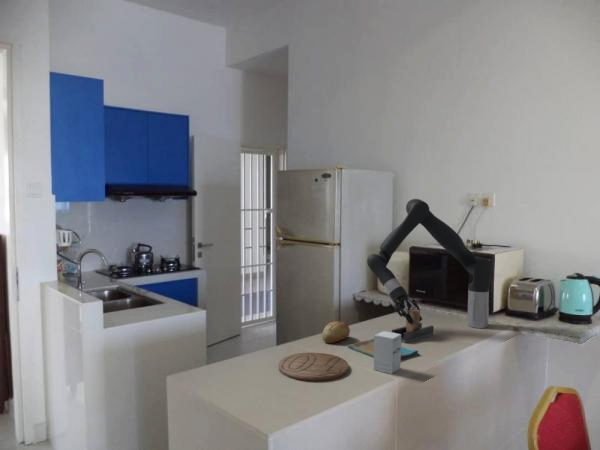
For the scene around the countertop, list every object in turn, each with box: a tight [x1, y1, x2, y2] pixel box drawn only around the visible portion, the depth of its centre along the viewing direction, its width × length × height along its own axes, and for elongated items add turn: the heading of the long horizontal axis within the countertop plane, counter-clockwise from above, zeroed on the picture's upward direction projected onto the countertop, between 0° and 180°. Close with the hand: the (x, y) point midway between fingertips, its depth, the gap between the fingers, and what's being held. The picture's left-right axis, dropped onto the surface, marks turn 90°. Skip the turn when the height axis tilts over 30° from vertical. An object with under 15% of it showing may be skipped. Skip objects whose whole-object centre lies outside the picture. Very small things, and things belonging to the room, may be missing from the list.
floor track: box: [391, 322, 435, 344], centre depth 207 cm, size 20×8×4 cm, turn 129°
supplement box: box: [373, 330, 402, 375], centre depth 167 cm, size 7×7×13 cm
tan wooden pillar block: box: [405, 308, 421, 332], centre depth 207 cm, size 5×4×11 cm
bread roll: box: [321, 321, 351, 344], centre depth 201 cm, size 10×15×8 cm, turn 140°
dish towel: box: [347, 338, 420, 361], centre depth 187 cm, size 17×23×2 cm
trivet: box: [278, 352, 349, 383], centre depth 167 cm, size 25×25×2 cm
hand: (416, 321), depth 205 cm, fingers open, 5 cm apart
